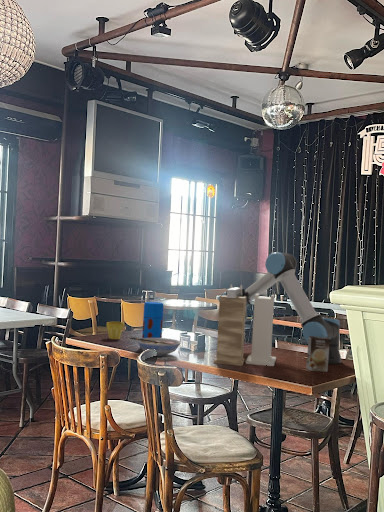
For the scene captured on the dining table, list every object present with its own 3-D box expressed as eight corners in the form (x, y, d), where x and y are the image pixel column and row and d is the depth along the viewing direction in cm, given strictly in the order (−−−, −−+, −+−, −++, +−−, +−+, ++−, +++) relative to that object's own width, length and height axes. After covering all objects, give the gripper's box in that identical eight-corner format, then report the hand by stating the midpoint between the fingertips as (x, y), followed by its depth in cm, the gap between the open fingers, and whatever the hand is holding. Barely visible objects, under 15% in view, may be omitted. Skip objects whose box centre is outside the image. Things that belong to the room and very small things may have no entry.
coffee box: (309, 371, 274) (311, 337, 274) (306, 368, 280) (307, 335, 280) (328, 371, 274) (329, 338, 274) (324, 369, 281) (326, 336, 281)
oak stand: (218, 358, 293) (221, 295, 294) (244, 361, 291) (248, 296, 291) (213, 363, 280) (217, 296, 280) (242, 365, 277) (245, 298, 277)
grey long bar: (233, 294, 302) (234, 287, 302) (241, 295, 302) (241, 287, 302) (226, 297, 275) (227, 289, 275) (234, 298, 274) (235, 289, 274)
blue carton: (158, 349, 311) (160, 304, 311) (139, 348, 313) (141, 302, 313) (163, 347, 321) (165, 303, 322) (144, 345, 324) (147, 301, 324)
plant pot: (102, 338, 339) (103, 322, 339) (110, 336, 349) (111, 321, 349) (118, 340, 336) (119, 324, 336) (125, 338, 346) (126, 322, 346)
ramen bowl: (190, 355, 298) (190, 340, 298) (166, 361, 278) (167, 344, 278) (150, 349, 311) (151, 334, 311) (125, 354, 291) (126, 338, 291)
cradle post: (249, 357, 303) (253, 292, 303) (275, 359, 300) (279, 294, 301) (245, 363, 284) (249, 294, 284) (273, 366, 281) (277, 296, 281)
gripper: (254, 313, 310) (252, 294, 290) (222, 311, 313) (218, 292, 293) (255, 301, 313) (253, 281, 294) (224, 299, 317) (220, 279, 297)
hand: (236, 286), depth 294 cm, fingers open, 4 cm apart
